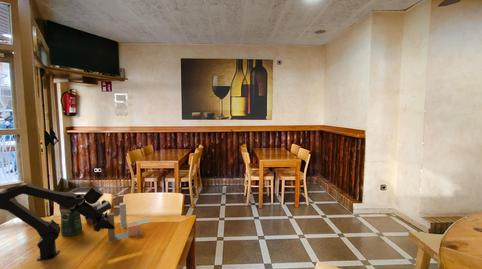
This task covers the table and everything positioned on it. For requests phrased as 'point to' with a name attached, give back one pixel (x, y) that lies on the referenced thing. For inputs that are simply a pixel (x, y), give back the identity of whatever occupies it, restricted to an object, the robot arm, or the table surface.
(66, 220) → the coffee jar
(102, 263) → the table surface
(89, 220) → the disposable coffee cup
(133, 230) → the terracotta cube
